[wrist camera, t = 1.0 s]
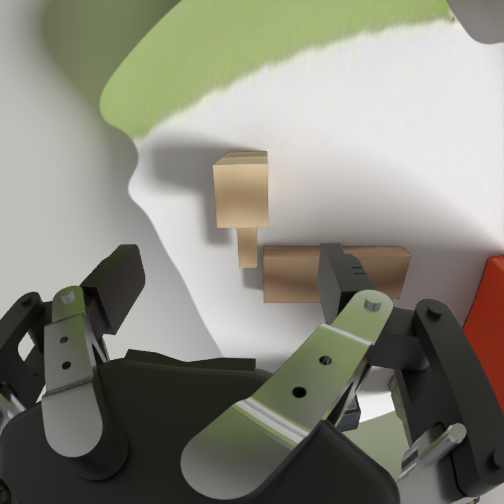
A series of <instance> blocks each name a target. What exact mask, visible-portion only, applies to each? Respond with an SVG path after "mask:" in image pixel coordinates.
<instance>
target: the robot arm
mask: <svg viewBox="0 0 504 504" xmlns="http://www.w3.org/2000/svg"><path fill="white" fill-rule="evenodd" d="M317 283H318V291H319V295H320V299H321V303H322V307H323V311H324V316H325V320H326V323H322V324H321V325H320V326H319V327H318V328H317V329H316V330H315V331H314V332H313V333H312V334H311V336H310V337H309V338H308V339H307V340H306V341H305V342H304V343H303V344H302V345H301V346H300V348H299V349H298V350H297V351H296V352H295V353H294V354H293V355H292V356H291V357H290V358H289V359H288V360H287V361H286V362H285V363H284V364H283V365H282V366H281V367H280V368H279V369H278V370H277V371H276V372H275V374H272V373H270V372H267V371H264V370H260V369H256V359H251V358H215V359H208V360H200V361H192V362H183V361H180V360H177V359H174V358H171V357H168V356H165V355H162V354H159V353H156V352H148V351H139V350H132V349H128V351H127V353H126V356H125V357H124V358H119V359H115V360H110V358H109V355H108V352H107V348H106V345H105V341H104V339H103V337H102V336H103V334H111V335H116V333H117V331H118V329H119V328H120V326H121V324H122V323H123V321H124V319H125V317H126V316H127V314H128V312H129V311H130V309H131V307H132V306H133V304H134V302H135V301H136V299H137V297H138V296H139V294H140V293H141V291H142V290H143V288H144V285H145V273H144V269H143V265H142V261H141V256H140V253H139V248H138V246H137V245H135V244H123V245H120V246H118V248H117V249H116V250H115V251H114V252H113V253H112V254H111V255H110V256H109V257H107V258H105V259H104V260H102V262H101V263H100V264H99V265H98V266H97V268H95V269H94V270H93V272H92V273H91V274H89V276H88V277H87V278H86V279H85V280H84V281H83V282H82V283H81V284H80V285H79V286H70V287H66V288H64V289H62V290H60V291H59V292H58V293H56V295H55V296H54V298H53V301H49V302H42V300H41V297H40V295H39V293H37V292H30V293H27V294H25V295H23V296H22V297H20V298H19V299H18V300H17V301H16V302H15V303H14V305H13V306H12V307H11V308H10V309H9V310H8V311H7V313H6V314H5V315H4V316H3V317H2V319H1V320H0V504H466V503H468V502H470V501H472V500H474V499H476V498H478V497H479V496H481V495H483V494H485V493H487V492H488V491H490V490H492V489H494V488H495V487H497V486H499V485H500V484H502V483H503V482H504V414H503V411H502V409H501V407H500V404H499V402H498V399H497V397H496V395H495V393H494V390H493V388H492V386H491V384H490V382H489V380H488V377H487V375H486V373H485V371H484V369H483V367H482V365H481V363H480V361H479V359H478V358H477V356H476V354H475V352H474V350H473V348H472V346H471V345H470V343H469V341H468V339H467V338H466V336H465V334H464V332H463V331H462V329H461V327H460V326H459V324H458V322H457V321H456V319H455V317H454V316H453V314H452V312H451V311H450V309H449V308H448V307H447V306H446V305H444V304H443V303H441V302H439V301H436V300H431V299H425V300H422V301H420V302H418V304H417V305H416V308H415V311H412V310H406V309H400V308H396V307H393V302H392V300H391V299H390V298H389V297H388V296H387V295H385V294H384V293H382V292H379V291H376V290H375V288H374V286H373V284H372V283H371V281H370V279H369V277H368V275H367V274H366V271H365V270H364V268H363V266H362V264H361V262H360V261H359V260H358V259H357V258H356V257H354V256H353V255H352V254H345V253H344V251H343V249H342V247H341V245H340V243H321V246H320V256H319V267H318V278H317ZM27 332H28V334H29V335H30V338H31V339H32V341H33V343H34V344H35V346H34V347H33V349H32V350H31V352H30V353H29V355H28V356H27V358H26V360H25V361H23V360H22V358H21V357H20V355H19V353H18V345H19V343H20V341H21V340H22V338H23V337H24V336H25V334H26V333H27ZM372 366H378V367H385V368H392V369H394V373H395V376H396V379H397V383H398V387H399V390H400V394H401V398H402V402H403V406H404V410H405V414H406V418H407V422H408V426H409V431H410V435H411V440H412V446H411V447H410V448H409V449H408V450H407V451H406V452H405V454H404V456H403V458H402V462H401V474H400V477H399V479H398V480H397V482H395V480H394V479H393V478H392V476H391V475H390V474H389V472H387V471H386V470H385V469H384V468H383V467H382V466H380V465H379V464H378V463H377V462H375V461H374V460H373V459H372V458H371V457H370V456H368V455H367V454H366V453H365V452H364V451H362V450H361V449H360V448H359V447H358V446H356V444H354V443H353V442H352V441H351V440H350V439H349V438H348V437H346V436H345V435H344V434H343V433H342V432H341V431H340V430H339V429H337V428H336V426H337V425H338V423H339V422H340V420H341V419H342V417H343V415H344V414H345V412H346V410H347V408H348V406H349V405H350V403H351V401H352V400H353V398H354V396H355V395H356V393H357V392H358V390H359V388H360V387H361V385H362V383H363V382H364V380H365V378H366V376H367V375H368V373H369V371H370V369H371V368H372ZM45 384H46V393H45V394H44V395H43V396H42V400H41V401H39V402H37V403H36V401H37V399H38V397H39V395H40V393H41V391H42V389H43V387H44V386H45ZM35 403H36V404H35Z"/></svg>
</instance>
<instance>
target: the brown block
mask: <svg viewBox="0 0 504 504" xmlns="http://www.w3.org/2000/svg"><path fill="white" fill-rule="evenodd" d="M342 249H343V251H344V253H345V254H352V255H353V256H354V257H356V258H357V259H358V260H359V261H360V262H361V264H362V266H363V268H364V270H365V271H366V274H367V275H368V277H369V279H370V281H371V283H372V284H373V286H374V288H375V290H376V291H379V292H382V293H384V294H385V295H387V296H388V297H389V298H390V299H399V297H400V294H401V290H402V287H403V283H404V280H405V276H406V272H407V268H408V264H409V260H410V255H409V254H408V253H407V251H406V250H405V249H404V248H403V247H342ZM319 256H320V246H264V249H263V288H264V303H296V302H321V299H320V295H319V291H318V283H317V278H318V267H319Z"/></svg>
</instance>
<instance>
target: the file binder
mask: <svg viewBox="0 0 504 504" xmlns="http://www.w3.org/2000/svg"><path fill="white" fill-rule="evenodd" d="M462 331H463V332H464V334H465V336H466V338H467V339H468V341H469V343H470V345H471V346H472V348H473V350H474V352H475V354H476V356H477V358H478V359H479V361H480V363H481V365H482V367H483V369H484V371H485V373H486V375H487V377H488V380H489V382H490V384H491V386H492V388H493V390H494V393H495V395H496V397H497V399H498V402H499V404H500V407H501V409H502V411H503V414H504V256H496V257H489V258H488V261H487V265H486V268H485V271H484V275H483V278H482V281H481V284H480V287H479V290H478V293H477V295H476V298H475V301H474V303H473V306H472V309H471V311H470V314H469V316H468V318H467V321H466V323H465V325H464V328H463V330H462Z"/></svg>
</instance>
